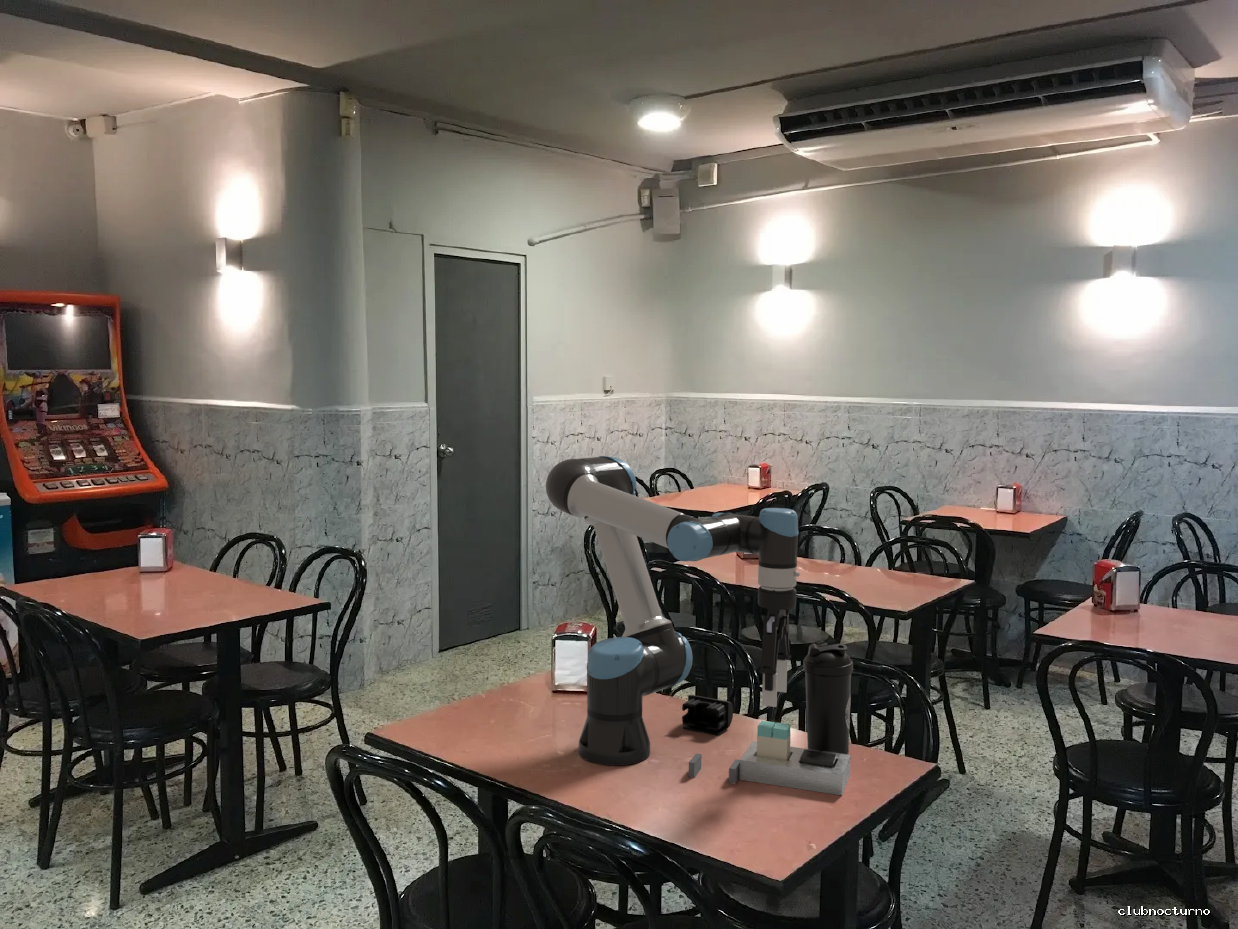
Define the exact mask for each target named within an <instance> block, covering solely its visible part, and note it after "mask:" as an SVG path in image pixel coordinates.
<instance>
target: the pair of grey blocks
mask: <svg viewBox="0 0 1238 929" xmlns="http://www.w3.org/2000/svg"><path fill="white" fill-rule="evenodd" d="M702 758H703V754H702V753H697V752H696V753H695V754H694V755H693V756H692V757H691V759H690V760H689V761H688V778H696V776H697V775H698V774H699V773H700V771H701V770H702V761H703V760H702ZM739 773H740V759H736V758H735V759H734V761H733V762H732V763H731V765H730V767H729V768H728V784H733V785H735V784H736V783H737V781H738V780H739Z"/></svg>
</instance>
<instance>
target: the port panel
mask: <svg viewBox="0 0 1238 929" xmlns="http://www.w3.org/2000/svg"><path fill="white" fill-rule="evenodd" d="M851 758H852V757H851V754H848V755H847V754H840V753H833V752H826V751H819V750H812V749H808V748H803V747H798V746H796V747H795V746H790V759H789V761H784V760H777V759H770V758H763V757H757V741H754V740H753V741H751V742H750V744H749V746H748V747H747V749H746V750H745V751H744V753H743V755H742V756H741V758H740V759H739V760H740V773H739V778H738V780H741V781H747V782H754V783H757V784H758V783H760V784H767V785H773V786H779V787H785V788H792V789H799V790H804V791H805V790H806V791H810V792H817V793H823V794H829V795H837V796H843V794H844V792H845V790H846V788H847V787H846V786H847V783H848V781H849V778H850V775H851Z"/></svg>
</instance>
